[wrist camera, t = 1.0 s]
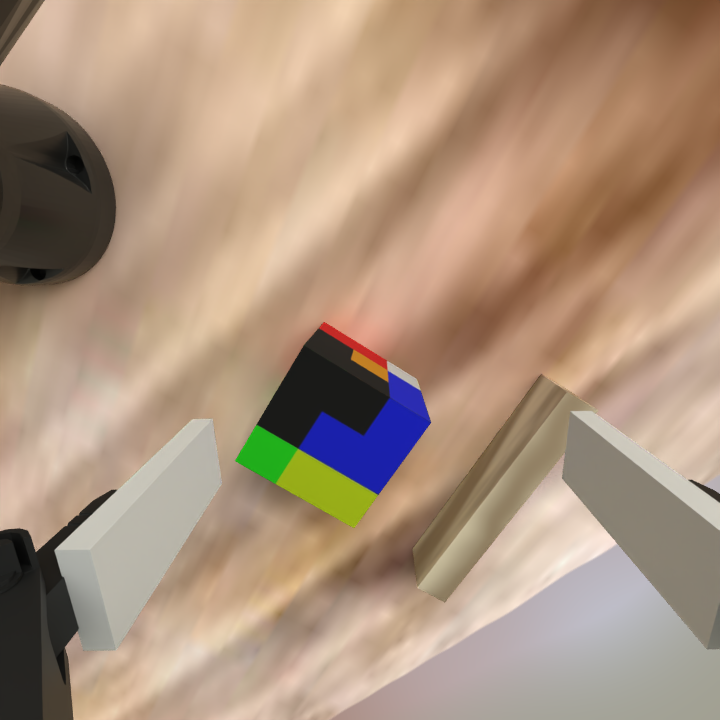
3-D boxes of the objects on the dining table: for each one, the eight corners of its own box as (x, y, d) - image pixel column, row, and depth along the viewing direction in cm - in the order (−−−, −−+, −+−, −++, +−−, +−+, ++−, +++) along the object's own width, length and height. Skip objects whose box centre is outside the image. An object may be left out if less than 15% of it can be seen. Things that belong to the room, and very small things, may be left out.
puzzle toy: (417, 379, 36) (431, 422, 26) (360, 460, 38) (354, 528, 29) (324, 321, 35) (303, 345, 26) (271, 409, 38) (234, 460, 28)
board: (412, 548, 41) (417, 587, 36) (541, 374, 35) (567, 392, 31) (436, 561, 41) (444, 602, 36) (568, 390, 36) (598, 410, 31)
